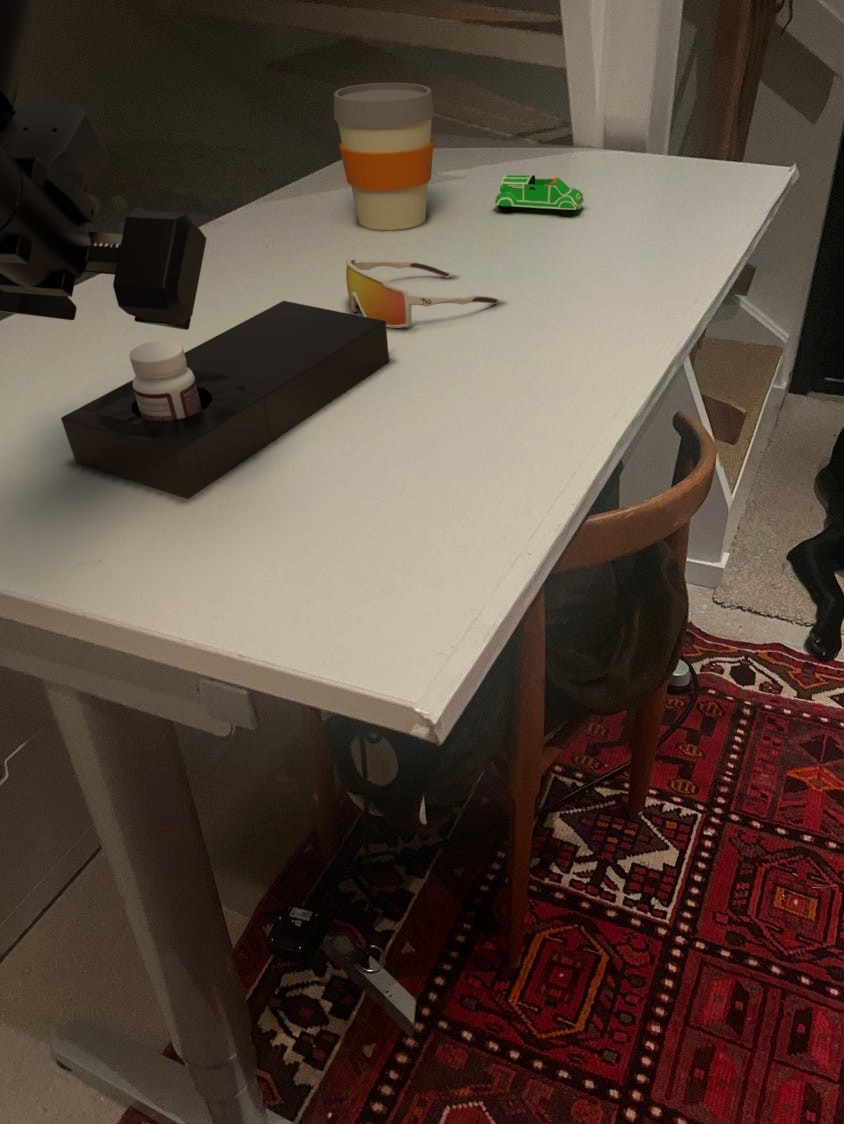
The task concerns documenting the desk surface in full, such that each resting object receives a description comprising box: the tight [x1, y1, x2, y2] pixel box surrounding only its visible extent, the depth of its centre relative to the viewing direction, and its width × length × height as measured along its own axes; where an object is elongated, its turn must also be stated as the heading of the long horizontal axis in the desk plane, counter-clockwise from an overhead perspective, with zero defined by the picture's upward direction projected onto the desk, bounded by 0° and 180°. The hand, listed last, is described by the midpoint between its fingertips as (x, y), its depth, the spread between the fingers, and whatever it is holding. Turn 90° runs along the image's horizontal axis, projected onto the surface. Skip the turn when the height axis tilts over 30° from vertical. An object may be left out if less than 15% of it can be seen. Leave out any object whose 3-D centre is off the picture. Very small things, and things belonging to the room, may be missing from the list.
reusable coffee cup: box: [333, 82, 435, 231], centre depth 119 cm, size 13×13×15 cm
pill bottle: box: [129, 340, 202, 421], centre depth 73 cm, size 5×5×8 cm
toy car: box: [491, 174, 585, 218], centre depth 125 cm, size 12×5×4 cm, turn 75°
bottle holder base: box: [60, 300, 390, 499], centre depth 80 cm, size 28×12×4 cm, turn 151°
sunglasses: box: [345, 258, 500, 329], centre depth 99 cm, size 14×15×5 cm
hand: (130, 318), depth 67 cm, fingers open, 9 cm apart
